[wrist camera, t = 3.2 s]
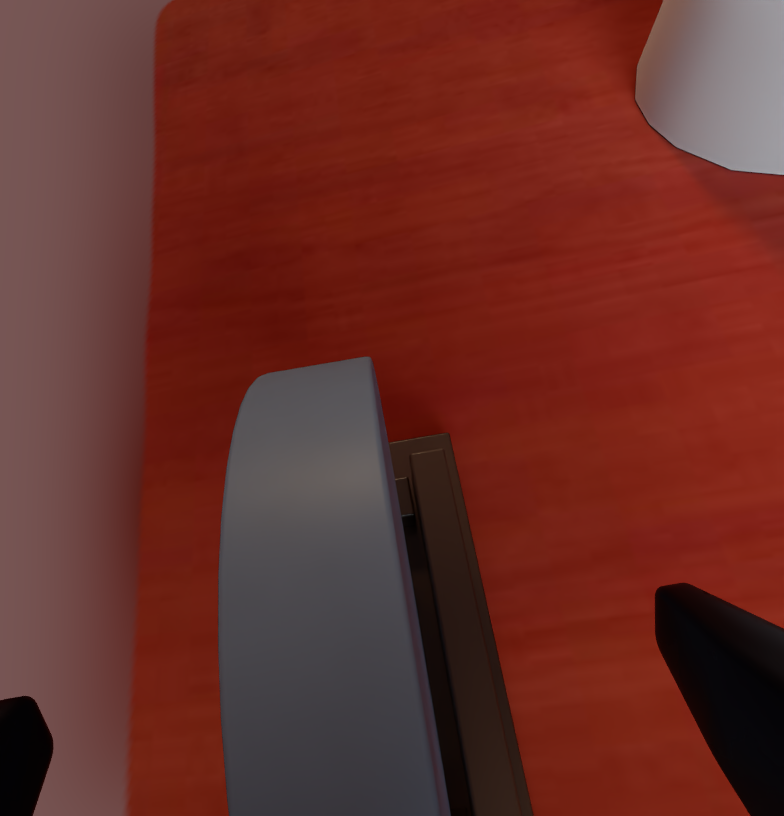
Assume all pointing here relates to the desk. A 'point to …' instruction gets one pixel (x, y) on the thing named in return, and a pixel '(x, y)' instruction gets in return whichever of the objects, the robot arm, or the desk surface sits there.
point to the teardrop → (717, 81)
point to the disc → (320, 609)
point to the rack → (457, 635)
